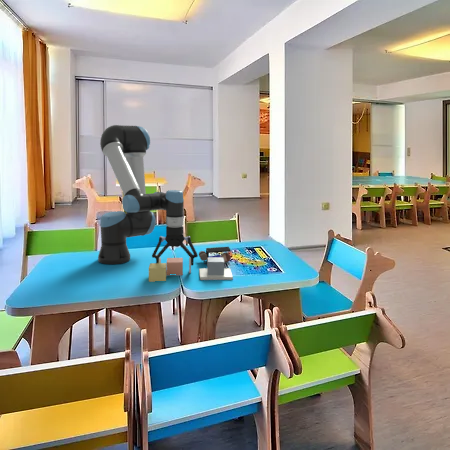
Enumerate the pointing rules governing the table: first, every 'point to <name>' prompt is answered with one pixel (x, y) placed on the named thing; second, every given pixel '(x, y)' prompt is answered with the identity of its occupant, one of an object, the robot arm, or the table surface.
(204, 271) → the build plate
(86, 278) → the table surface
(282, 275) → the table surface
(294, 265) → the table surface
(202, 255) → the figurine character
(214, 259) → the grey cube
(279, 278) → the table surface
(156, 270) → the brick mustard
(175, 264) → the pinkish brown cube
